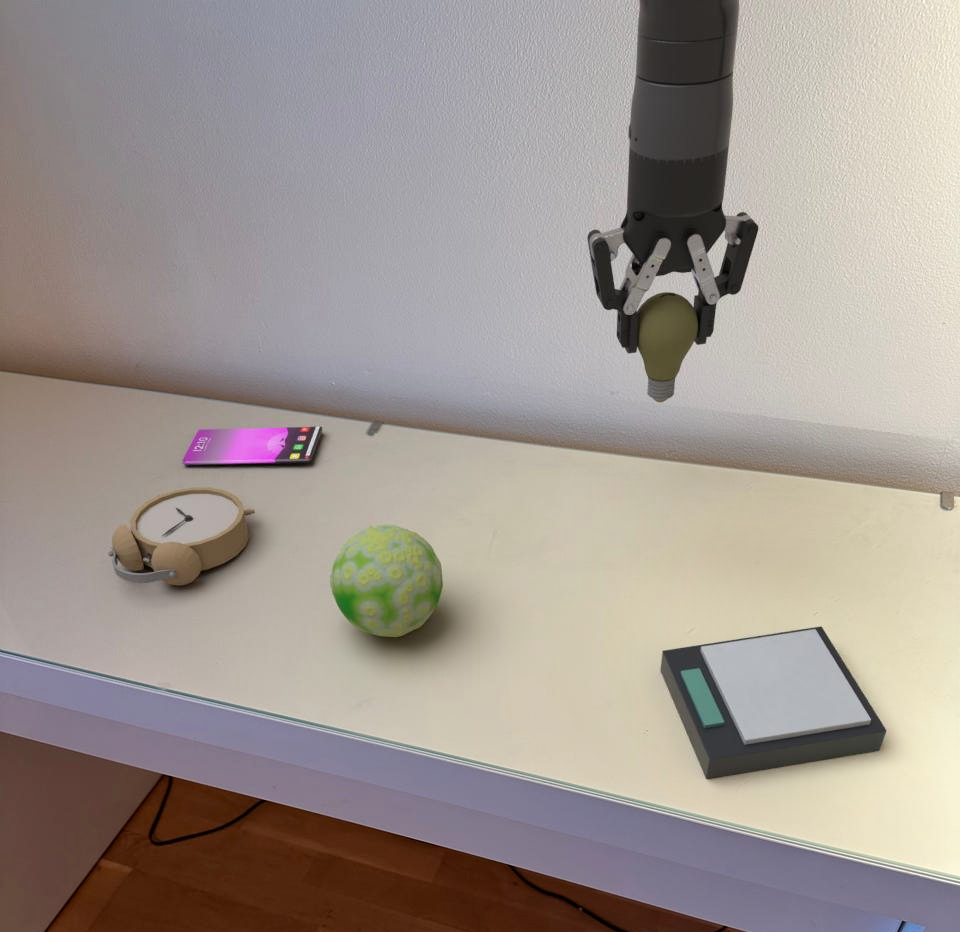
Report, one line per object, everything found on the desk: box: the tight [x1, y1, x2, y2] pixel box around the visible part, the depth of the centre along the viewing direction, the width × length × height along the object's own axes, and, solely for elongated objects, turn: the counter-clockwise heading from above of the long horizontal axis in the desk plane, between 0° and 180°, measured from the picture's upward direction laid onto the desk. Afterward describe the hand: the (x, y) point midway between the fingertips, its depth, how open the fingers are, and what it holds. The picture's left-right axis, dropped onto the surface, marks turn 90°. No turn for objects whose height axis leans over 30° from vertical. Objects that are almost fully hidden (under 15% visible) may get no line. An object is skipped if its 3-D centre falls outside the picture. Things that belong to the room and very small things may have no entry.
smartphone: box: [181, 426, 323, 466], centre depth 111 cm, size 7×15×1 cm, turn 86°
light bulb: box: [636, 291, 698, 403], centre depth 85 cm, size 6×6×10 cm
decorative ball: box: [329, 524, 444, 638], centre depth 85 cm, size 10×10×10 cm
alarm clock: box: [107, 487, 256, 586], centre depth 96 cm, size 11×5×15 cm
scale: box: [660, 626, 887, 780], centre depth 77 cm, size 14×12×3 cm
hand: (664, 344), depth 85 cm, fingers closed on light bulb, 5 cm apart
